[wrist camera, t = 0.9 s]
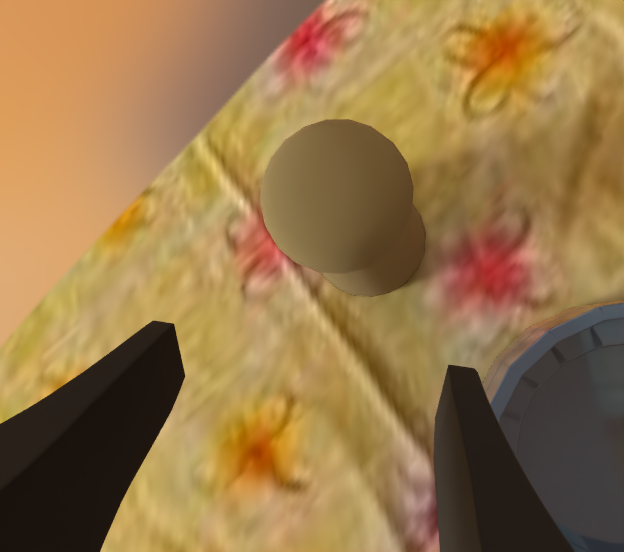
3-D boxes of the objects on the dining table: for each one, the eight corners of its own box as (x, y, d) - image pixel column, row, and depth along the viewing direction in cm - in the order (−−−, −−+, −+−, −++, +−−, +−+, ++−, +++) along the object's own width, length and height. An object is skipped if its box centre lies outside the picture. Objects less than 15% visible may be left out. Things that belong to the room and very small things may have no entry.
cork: (420, 176, 25) (417, 73, 14) (431, 291, 24) (436, 272, 14) (308, 191, 26) (229, 107, 16) (315, 301, 26) (239, 290, 15)
